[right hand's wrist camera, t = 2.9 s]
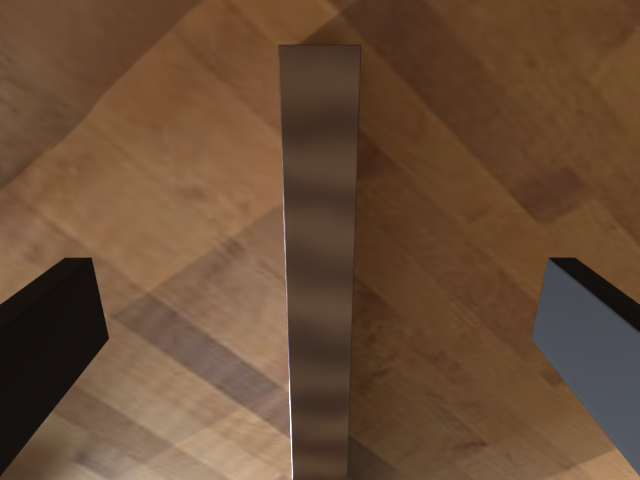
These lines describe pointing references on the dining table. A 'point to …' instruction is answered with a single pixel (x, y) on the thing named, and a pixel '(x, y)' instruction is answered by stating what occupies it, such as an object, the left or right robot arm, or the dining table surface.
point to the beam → (319, 247)
